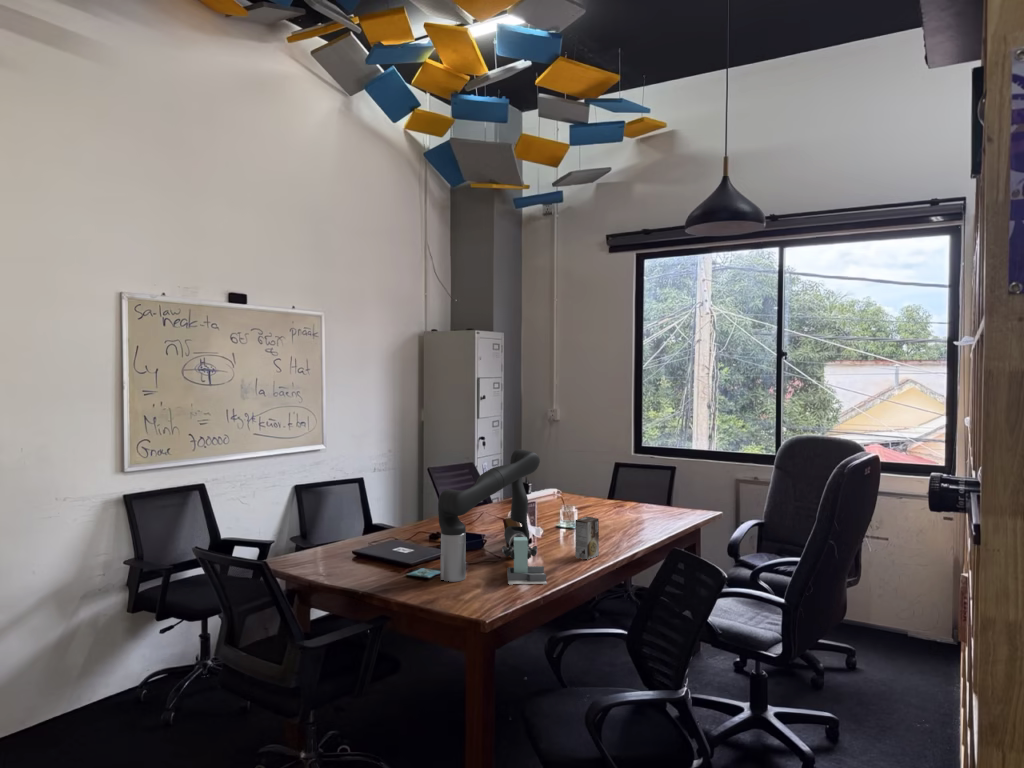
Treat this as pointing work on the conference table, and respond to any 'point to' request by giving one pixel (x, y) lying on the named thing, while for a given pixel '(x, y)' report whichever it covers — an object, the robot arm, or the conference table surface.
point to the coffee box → (586, 537)
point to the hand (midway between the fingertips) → (521, 556)
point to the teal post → (520, 555)
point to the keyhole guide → (527, 576)
